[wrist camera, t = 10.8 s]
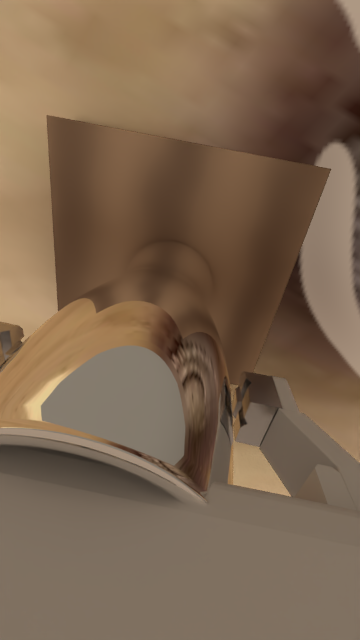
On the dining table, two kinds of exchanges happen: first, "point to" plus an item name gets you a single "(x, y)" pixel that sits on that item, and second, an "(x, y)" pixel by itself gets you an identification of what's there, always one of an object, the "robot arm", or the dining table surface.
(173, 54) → the dining table surface
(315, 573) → the robot arm
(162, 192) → the walnut base
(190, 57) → the dining table surface
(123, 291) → the beer glass
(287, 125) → the dining table surface
